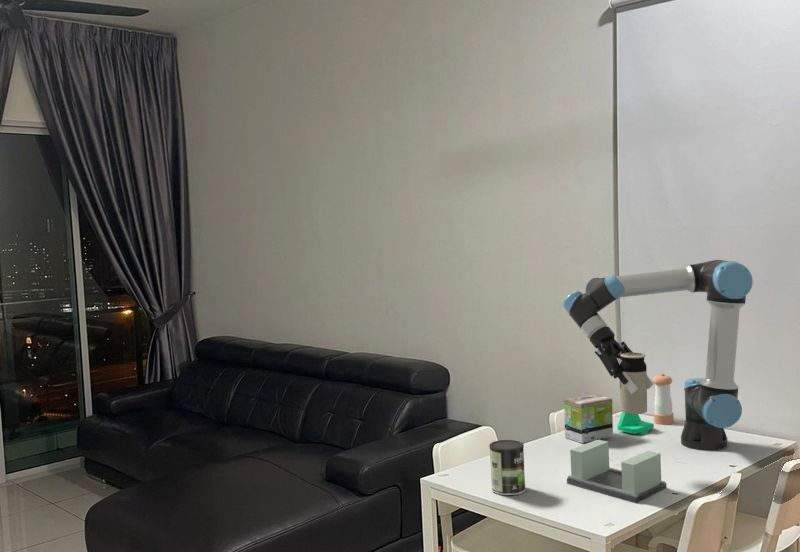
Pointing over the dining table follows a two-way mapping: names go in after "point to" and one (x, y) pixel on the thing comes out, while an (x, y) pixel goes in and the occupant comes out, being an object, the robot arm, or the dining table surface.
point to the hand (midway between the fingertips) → (642, 388)
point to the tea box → (588, 418)
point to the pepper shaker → (663, 400)
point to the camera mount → (633, 424)
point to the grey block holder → (635, 470)
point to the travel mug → (638, 374)
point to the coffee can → (507, 467)
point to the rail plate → (613, 485)
